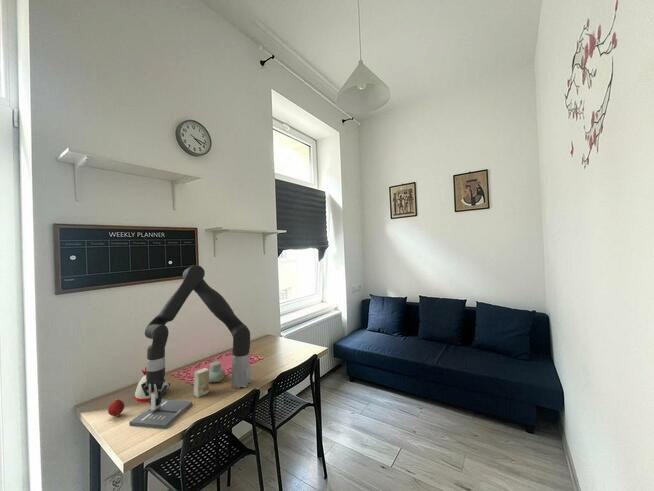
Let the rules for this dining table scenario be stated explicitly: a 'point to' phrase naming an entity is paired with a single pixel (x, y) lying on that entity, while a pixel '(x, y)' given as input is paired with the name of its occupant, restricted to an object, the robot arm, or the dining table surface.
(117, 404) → the onion
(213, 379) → the air freshener
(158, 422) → the console
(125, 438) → the dining table surface
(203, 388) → the skincare box
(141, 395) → the kitchen timer
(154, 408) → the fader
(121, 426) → the dining table surface
